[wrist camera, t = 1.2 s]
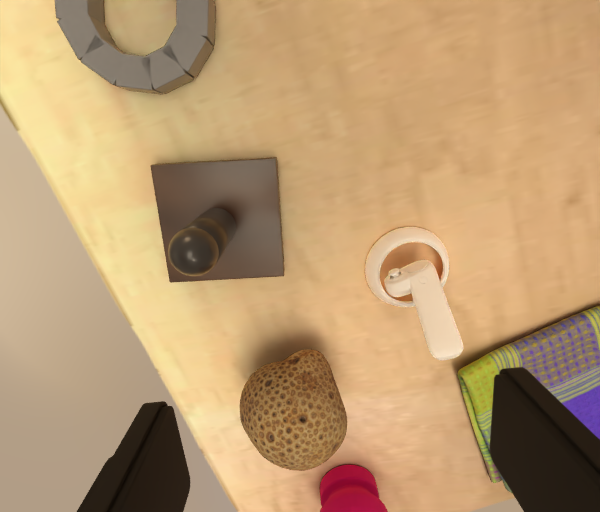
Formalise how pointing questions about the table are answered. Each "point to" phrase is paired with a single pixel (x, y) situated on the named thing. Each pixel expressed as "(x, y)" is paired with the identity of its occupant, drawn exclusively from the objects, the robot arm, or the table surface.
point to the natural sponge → (294, 411)
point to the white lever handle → (417, 288)
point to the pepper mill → (350, 491)
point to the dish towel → (541, 374)
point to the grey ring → (133, 68)
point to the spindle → (220, 219)
